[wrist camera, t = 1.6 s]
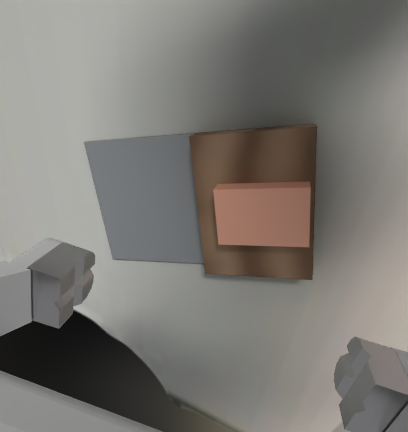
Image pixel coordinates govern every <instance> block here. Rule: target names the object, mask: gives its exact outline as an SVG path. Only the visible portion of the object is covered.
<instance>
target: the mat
mask: <svg viewBox="0 0 408 432" xmlns="http://www.w3.org/2000/svg"><path fill="white" fill-rule="evenodd" d="M193 134H195V133H190V134H177V135H165V136H152V137H139V138H126V139H114V140H101V141H88V142H84V144H85V148H86V152H87V156H88V160H89V164H90V168H91V172H92V176H93V180H94V184H95V189H96V193H97V197H98V201H99V205H100V209H101V213H102V217H103V221H104V225H105V229H106V233H107V237H108V241H109V245H110V249H111V254H112V258H113V259H122V260H142V261H162V262H182V263H202V264H204V257H203V248H202V240H201V232H200V223H199V215H198V207H197V199H196V190H195V182H194V174H193V165H192V157H191V149H190V141H189V136H191V135H193Z"/></svg>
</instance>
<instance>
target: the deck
mask: <svg viewBox="0 0 408 432" xmlns="http://www.w3.org/2000/svg"><path fill="white" fill-rule="evenodd" d="M316 139H317V126H316V124H304V125H292V126H279V127H266V128H254V129H241V130H228V131H215V132H203V133H195V134H193V135H191V136H189V141H190V149H191V157H192V165H193V174H194V182H195V190H196V199H197V207H198V215H199V223H200V232H201V240H202V248H203V257H204V265H205V273H206V274H222V275H239V276H256V277H273V278H289V279H306V280H312V274H313V240H314V206H315V173H316ZM307 181H310V187H311V194H310V235H309V247H283V246H250V245H219V244H218V234H217V224H216V214H215V204H214V193H213V189H214V188H215V187H216V186H217V184H235V183H271V182H307Z"/></svg>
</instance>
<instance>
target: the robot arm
mask: <svg viewBox="0 0 408 432" xmlns="http://www.w3.org/2000/svg"><path fill="white" fill-rule="evenodd" d="M94 264H95V254H94V253H93V252H91V251H88V250H85V249H82V248H79V247H76V246H74V245H71V244H68V243H64V242H62V241H59V240H55V239H52V238H46V239H45V240H43V241H42V242H40V243H38V244H37V245H35V246H34V247H32V248H31V249H29V250H28V251H26V252H25V253H23V254H22V255H20V256H18V257H17V258H15V259H14V260H12V261H11V262H6V261H2V262H0V336H1V335H3V334H6V333H8V332H10V331H12V330H14V329H17V328H19V327H21V326H23V325H25V324H27V323H30V322H31V321H32V320H33V321H37V322H40V323H43V324H46V325H49V326H53V327H55V328H60V327H61V325H62V324H63V323H64V322H65V321H66V320H67V319H68V318H69V317H70V316H71V315H72V313H73V306H76V305H79V304H81V303H82V302H83V301H84V300H85V299H86V297H87V296H88V294H89V292H90V290H91V288H92V284H93V278H94V275H93V273H92V271H91V269H90V268H91V267H92V266H93V265H94ZM347 348H348V352H349V353H348V354H345V355H343V356H341V357H340V358H339V360H338V362H337V364H336V368H335V373H334V383H335V388H336V391H337V392H338V393H339V395H340V396H341V397H342V399H343V400H342V401H341V403H340V404H339V407H340V411H341V416H342V420H343V424H344V429H346V430H348V431H351V432H408V352H405V351H401V350H398V349H395V348H391V347H390V348H389V347H386V346H383V345H380V344H377V343H373V342H370V341H367V340H364V339H361V338H358V337H354V338H352V339H351V340H350V342H349V343H348V345H347ZM0 432H162V431H160V430H157V429H154V428H152V427H149V426H146V425H144V424H141V423H138V422H136V421H133V420H130V419H128V418H125V417H122V416H120V415H117V414H114V413H111V412H109V411H106V410H104V409H101V408H98V407H95V406H93V405H90V404H88V403H85V402H82V401H79V400H77V399H74V398H71V397H69V396H66V395H63V394H61V393H58V392H55V391H53V390H50V389H47V388H45V387H42V386H39V385H37V384H34V383H31V382H29V381H26V380H23V379H20V378H18V377H15V376H13V375H10V374H7V373H4V372H1V371H0Z"/></svg>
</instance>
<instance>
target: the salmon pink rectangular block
mask: <svg viewBox="0 0 408 432" xmlns="http://www.w3.org/2000/svg"><path fill="white" fill-rule="evenodd" d="M213 193H214V204H215V214H216V224H217V234H218V244H219V245H250V246H283V247H309V235H310V194H311V187H310V181H307V182H271V183H235V184H217V186H216V187H215V188H214V189H213Z"/></svg>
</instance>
